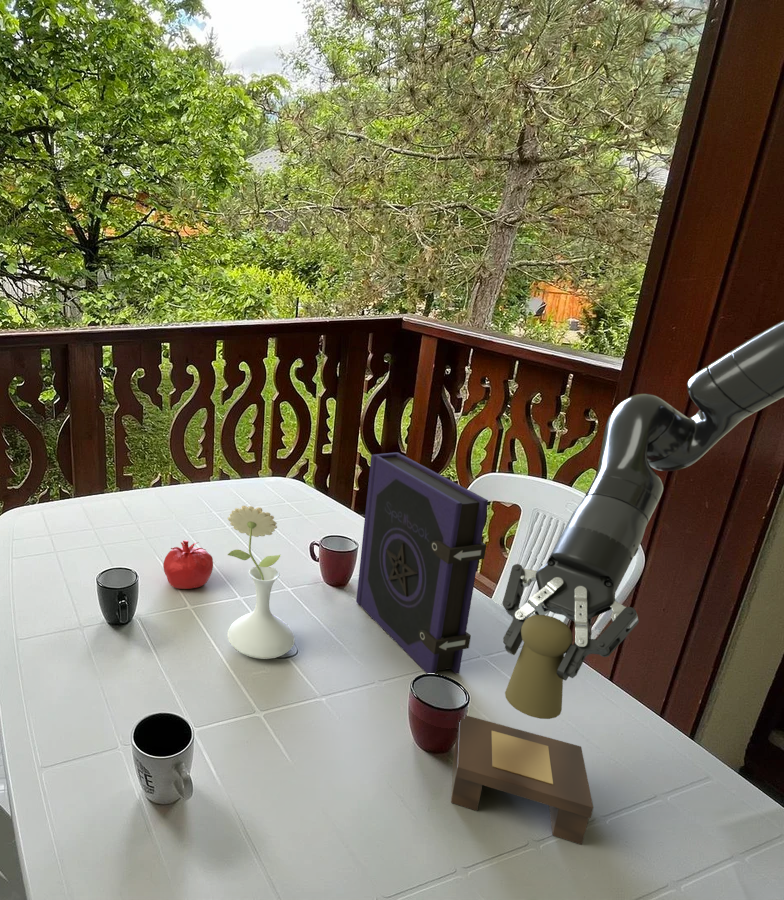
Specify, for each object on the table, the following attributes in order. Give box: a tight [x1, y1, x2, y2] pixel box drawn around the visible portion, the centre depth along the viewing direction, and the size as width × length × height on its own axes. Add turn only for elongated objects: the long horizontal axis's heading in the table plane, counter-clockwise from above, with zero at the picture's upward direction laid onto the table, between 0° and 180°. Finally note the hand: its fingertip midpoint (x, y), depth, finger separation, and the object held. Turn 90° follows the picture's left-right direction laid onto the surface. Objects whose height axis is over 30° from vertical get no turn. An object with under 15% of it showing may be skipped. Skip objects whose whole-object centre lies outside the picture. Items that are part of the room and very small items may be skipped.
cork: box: [504, 614, 574, 720], centre depth 75 cm, size 6×6×11 cm
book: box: [355, 452, 489, 675], centre depth 107 cm, size 24×6×30 cm, turn 15°
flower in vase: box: [226, 505, 296, 660], centre depth 105 cm, size 13×11×25 cm
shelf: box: [450, 714, 594, 846], centre depth 78 cm, size 14×10×6 cm
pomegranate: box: [162, 539, 214, 590], centre depth 127 cm, size 10×10×9 cm
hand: (534, 663), depth 73 cm, fingers closed on cork, 5 cm apart
